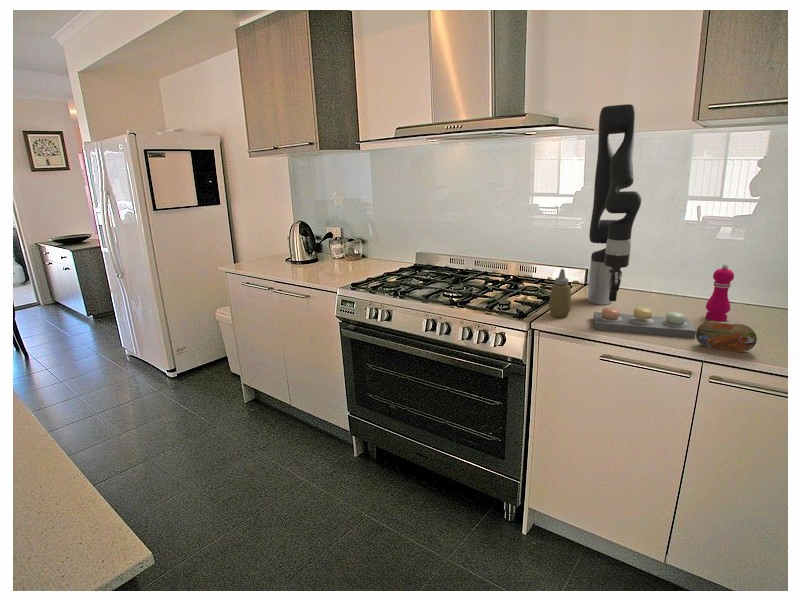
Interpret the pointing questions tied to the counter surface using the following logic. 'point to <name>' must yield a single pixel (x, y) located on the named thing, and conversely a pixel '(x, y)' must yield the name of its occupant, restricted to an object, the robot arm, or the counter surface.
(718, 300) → the pepper mill
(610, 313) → the terracotta button
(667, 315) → the sage button
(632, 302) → the counter surface
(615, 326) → the button panel
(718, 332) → the tin
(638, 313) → the ochre button
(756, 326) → the counter surface
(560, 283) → the squeeze bottle
